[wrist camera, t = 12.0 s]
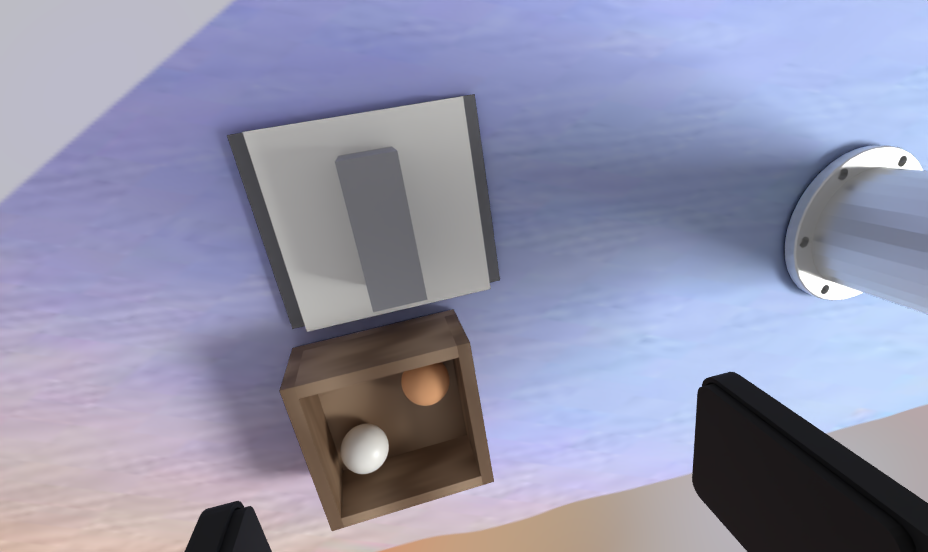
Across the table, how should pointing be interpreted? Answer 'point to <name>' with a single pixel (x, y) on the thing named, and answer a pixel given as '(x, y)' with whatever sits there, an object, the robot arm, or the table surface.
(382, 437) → the off-white ball
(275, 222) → the lid
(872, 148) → the robot arm
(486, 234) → the mat
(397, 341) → the box
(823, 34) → the table surface
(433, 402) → the orange ball
